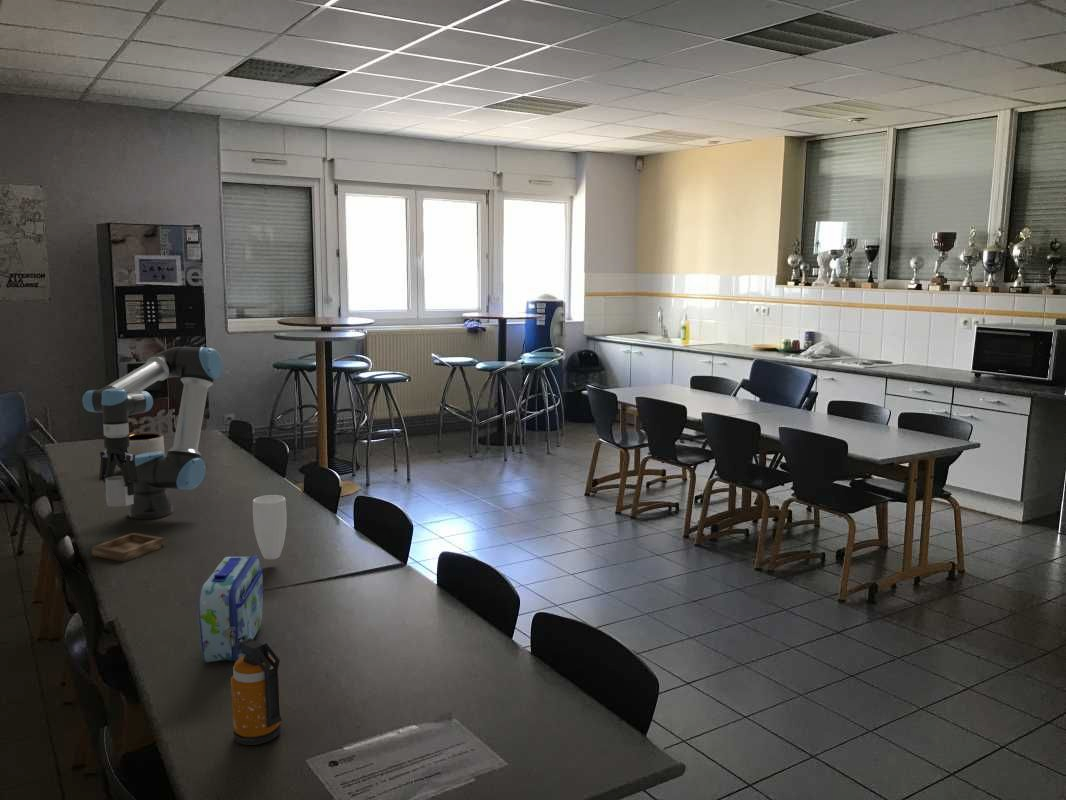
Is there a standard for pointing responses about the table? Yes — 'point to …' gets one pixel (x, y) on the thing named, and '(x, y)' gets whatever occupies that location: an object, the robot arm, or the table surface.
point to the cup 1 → (115, 491)
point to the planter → (145, 443)
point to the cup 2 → (270, 524)
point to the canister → (255, 694)
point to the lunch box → (230, 607)
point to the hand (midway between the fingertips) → (119, 503)
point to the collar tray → (128, 547)
